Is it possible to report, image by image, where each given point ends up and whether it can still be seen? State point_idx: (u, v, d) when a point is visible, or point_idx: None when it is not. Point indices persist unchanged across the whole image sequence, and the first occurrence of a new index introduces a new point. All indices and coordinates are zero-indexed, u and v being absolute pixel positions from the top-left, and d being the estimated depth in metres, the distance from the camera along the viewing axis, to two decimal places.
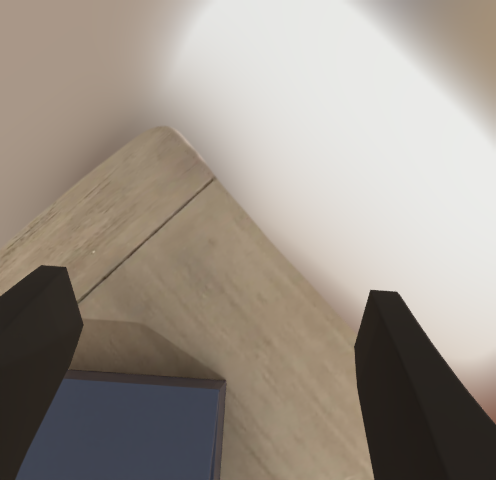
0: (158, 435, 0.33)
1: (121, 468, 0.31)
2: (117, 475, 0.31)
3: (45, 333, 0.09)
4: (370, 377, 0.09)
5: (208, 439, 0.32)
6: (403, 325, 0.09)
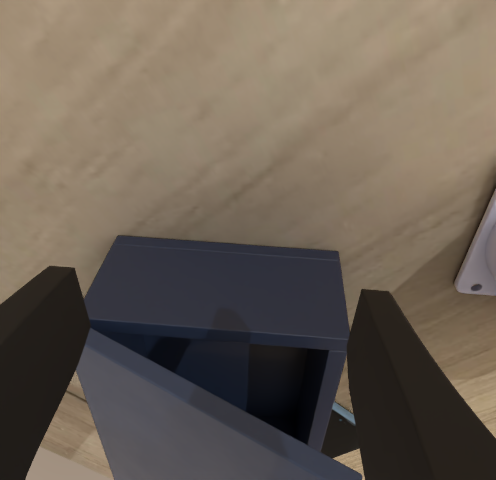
0: (145, 429, 0.19)
1: None
2: None
3: (54, 333, 0.09)
4: (361, 376, 0.09)
5: (133, 378, 0.17)
6: (393, 324, 0.09)
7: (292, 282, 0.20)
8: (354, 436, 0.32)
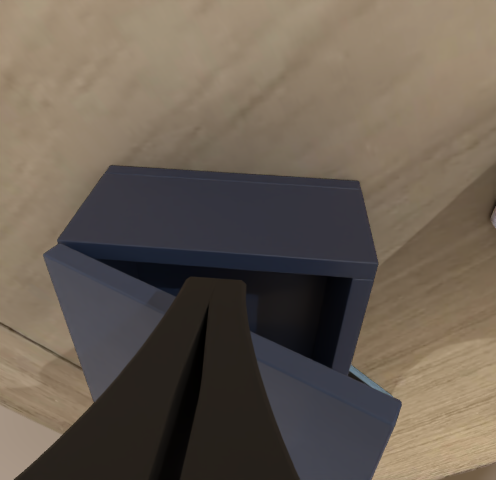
0: None
1: None
2: None
3: None
4: None
5: (124, 301, 0.14)
6: (227, 311, 0.09)
7: (307, 209, 0.18)
8: None
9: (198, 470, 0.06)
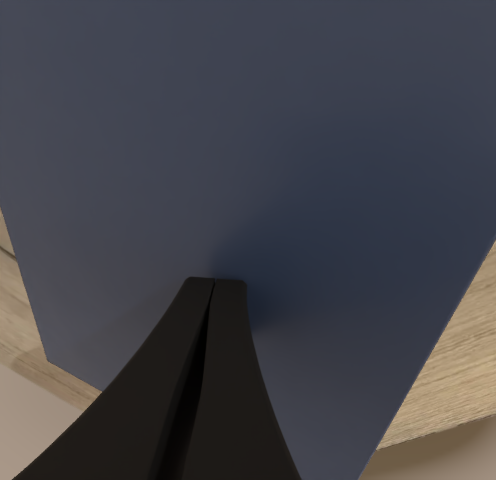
0: (76, 118, 0.10)
1: (167, 234, 0.10)
2: (183, 246, 0.10)
3: (205, 346, 0.09)
4: None
5: None
6: (228, 311, 0.09)
7: None
8: None
9: (200, 470, 0.06)
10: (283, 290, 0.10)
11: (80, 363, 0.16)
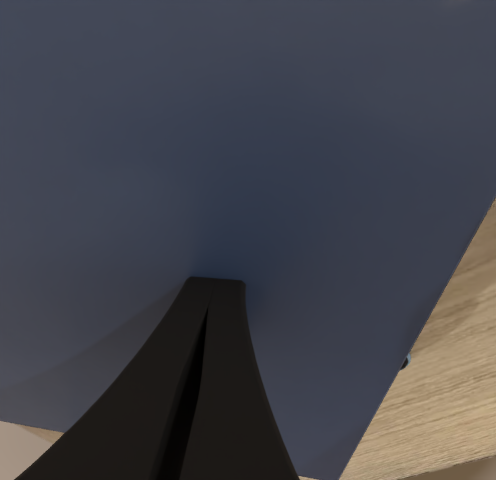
0: (37, 144, 0.08)
1: (157, 254, 0.10)
2: (178, 262, 0.10)
3: None
4: None
5: None
6: (226, 311, 0.09)
7: None
8: None
9: (198, 470, 0.06)
10: (291, 285, 0.10)
11: (42, 411, 0.15)
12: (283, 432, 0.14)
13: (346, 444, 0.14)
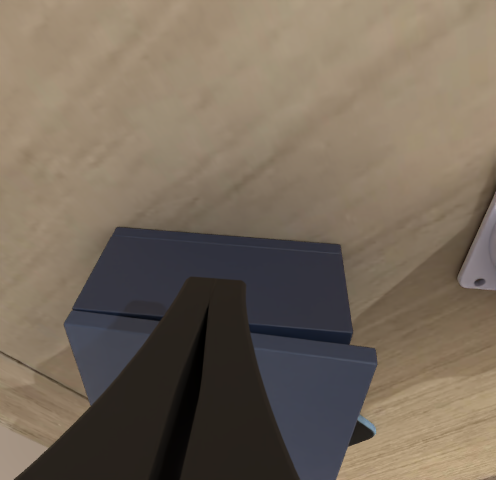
0: None
1: None
2: None
3: None
4: None
5: None
6: (227, 311, 0.09)
7: (293, 275, 0.20)
8: (354, 430, 0.32)
9: (198, 470, 0.06)
10: None
11: None
12: None
13: None
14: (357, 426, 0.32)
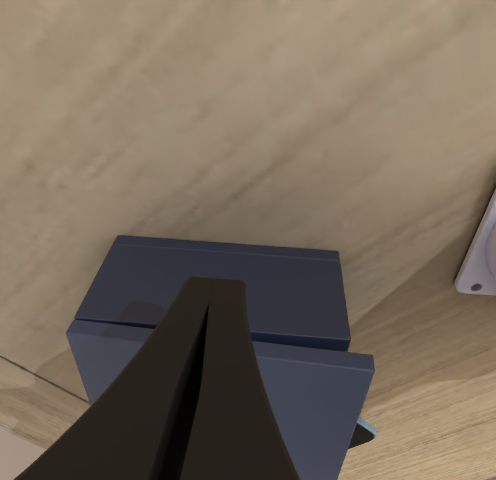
0: None
1: None
2: None
3: None
4: None
5: None
6: (227, 311, 0.09)
7: (292, 282, 0.20)
8: (354, 433, 0.32)
9: (198, 470, 0.06)
10: None
11: None
12: None
13: None
14: (357, 429, 0.32)
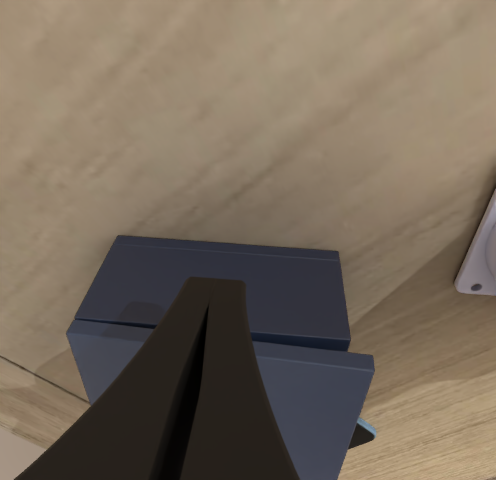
0: None
1: None
2: None
3: None
4: None
5: None
6: (227, 311, 0.09)
7: (292, 282, 0.20)
8: (354, 433, 0.32)
9: (198, 470, 0.06)
10: None
11: None
12: None
13: None
14: (357, 429, 0.32)
